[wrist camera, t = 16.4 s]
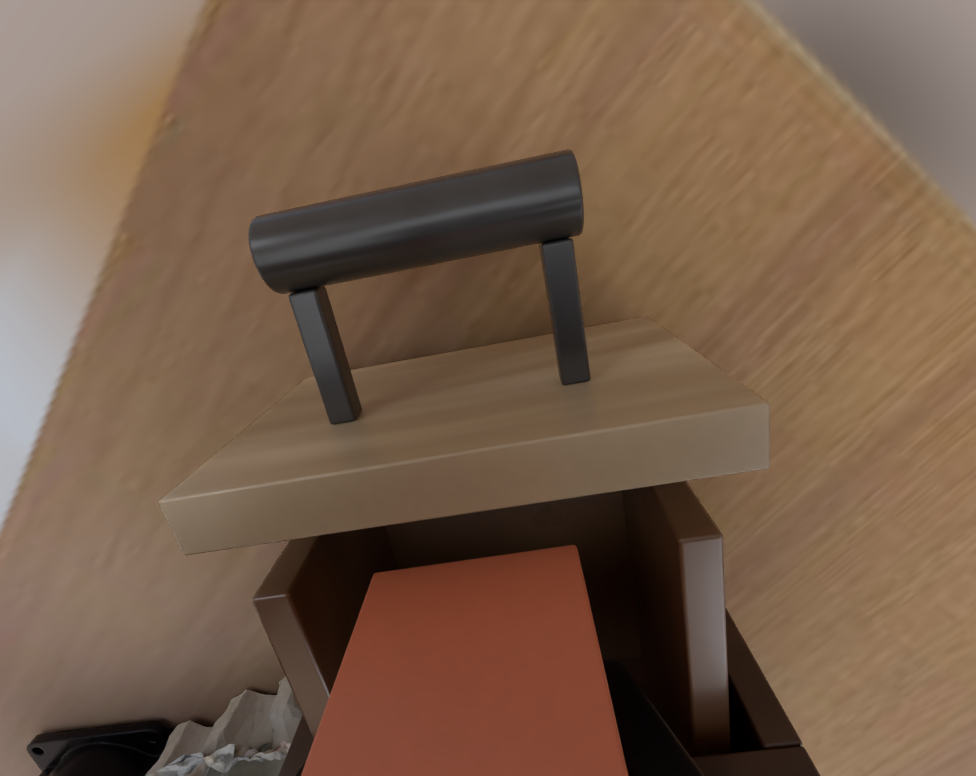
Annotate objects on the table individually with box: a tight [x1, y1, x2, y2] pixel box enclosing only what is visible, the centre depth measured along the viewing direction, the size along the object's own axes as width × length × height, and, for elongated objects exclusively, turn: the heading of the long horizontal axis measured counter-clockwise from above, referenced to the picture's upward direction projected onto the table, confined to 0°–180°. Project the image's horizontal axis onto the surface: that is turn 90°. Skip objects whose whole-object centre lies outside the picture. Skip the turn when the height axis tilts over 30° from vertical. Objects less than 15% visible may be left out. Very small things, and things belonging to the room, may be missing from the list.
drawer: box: [159, 149, 769, 757], centre depth 13 cm, size 17×10×7 cm, turn 11°
